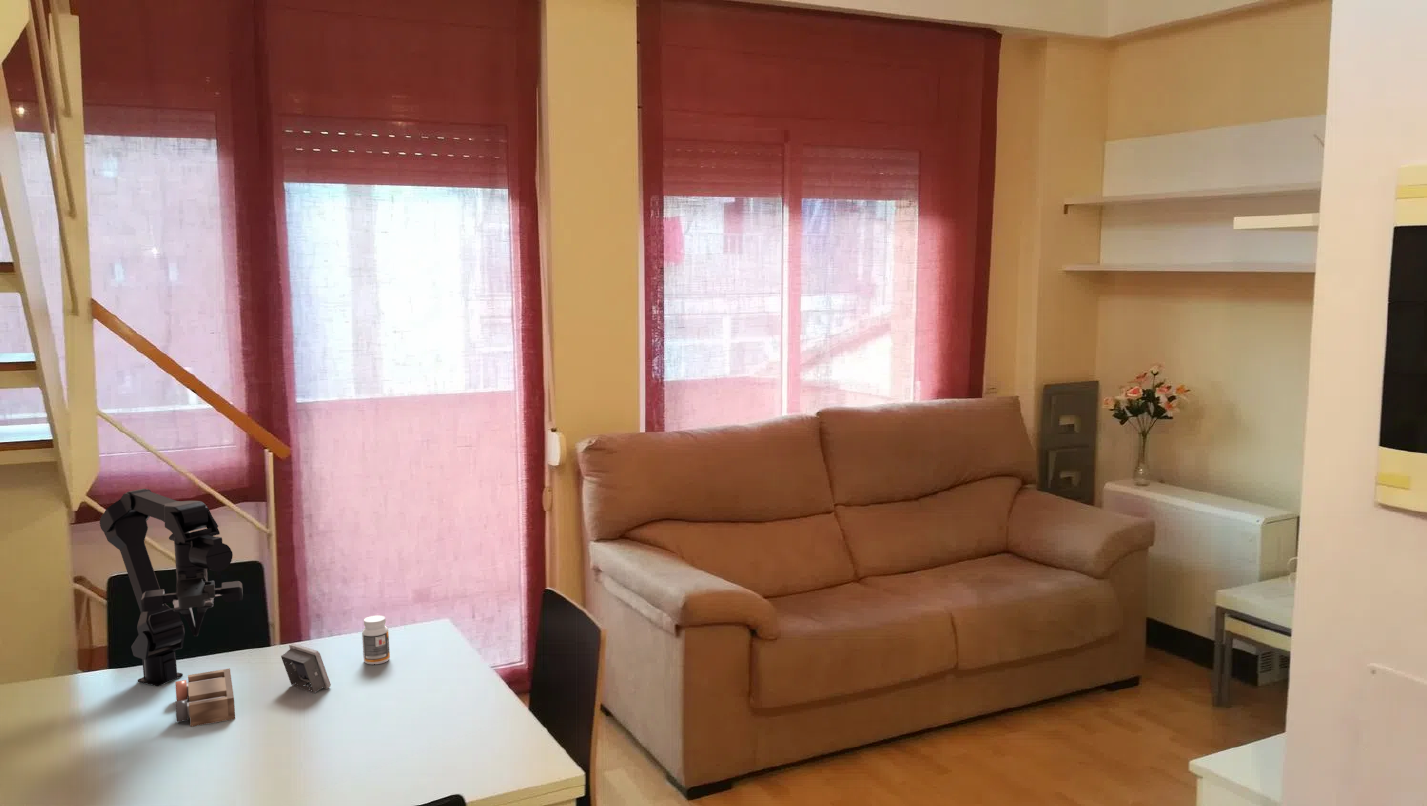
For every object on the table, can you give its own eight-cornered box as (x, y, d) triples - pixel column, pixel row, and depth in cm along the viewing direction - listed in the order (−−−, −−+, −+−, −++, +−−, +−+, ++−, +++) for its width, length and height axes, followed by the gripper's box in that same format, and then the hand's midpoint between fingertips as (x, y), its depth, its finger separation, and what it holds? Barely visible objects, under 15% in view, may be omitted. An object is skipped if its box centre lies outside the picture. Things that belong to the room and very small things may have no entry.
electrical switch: (332, 688, 226) (326, 648, 224) (311, 699, 222) (305, 658, 220) (304, 679, 231) (298, 639, 229) (283, 689, 227) (277, 649, 225)
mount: (190, 726, 208) (189, 705, 207) (189, 695, 223) (188, 675, 222) (235, 718, 211) (233, 697, 211) (231, 688, 226) (229, 668, 226)
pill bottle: (394, 660, 242) (392, 618, 240) (371, 667, 237) (369, 624, 236) (381, 654, 245) (379, 612, 244) (358, 661, 241) (356, 618, 240)
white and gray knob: (176, 725, 207) (175, 705, 207) (176, 717, 211) (175, 698, 210) (226, 716, 211) (225, 697, 211) (225, 709, 215) (224, 690, 214)
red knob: (176, 704, 217) (175, 685, 217) (176, 697, 221) (175, 678, 220) (224, 696, 221) (222, 677, 220) (223, 689, 225) (222, 671, 224)
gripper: (136, 579, 208) (142, 655, 210) (240, 568, 216) (245, 642, 218) (141, 564, 218) (146, 637, 220) (240, 554, 226) (244, 624, 228)
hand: (195, 635), depth 221 cm, fingers closed
